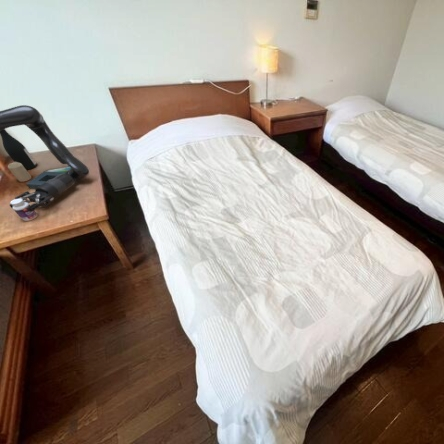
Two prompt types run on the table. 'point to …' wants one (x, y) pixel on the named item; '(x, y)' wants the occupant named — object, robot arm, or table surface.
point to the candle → (19, 171)
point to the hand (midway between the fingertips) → (19, 208)
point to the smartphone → (60, 170)
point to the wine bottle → (17, 151)
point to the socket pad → (42, 179)
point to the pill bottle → (23, 209)
